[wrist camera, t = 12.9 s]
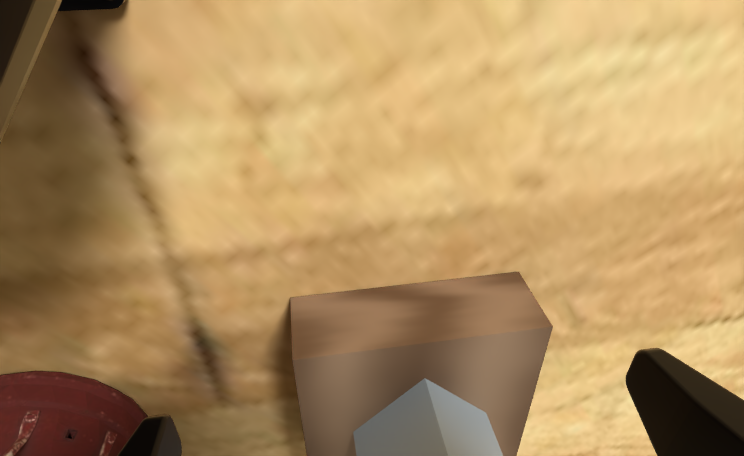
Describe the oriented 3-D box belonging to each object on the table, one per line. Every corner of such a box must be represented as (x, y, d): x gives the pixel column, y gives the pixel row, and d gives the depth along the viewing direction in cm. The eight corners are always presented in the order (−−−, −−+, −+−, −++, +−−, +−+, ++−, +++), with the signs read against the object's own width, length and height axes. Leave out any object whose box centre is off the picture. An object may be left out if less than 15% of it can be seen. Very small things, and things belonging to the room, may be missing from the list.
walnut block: (309, 436, 32) (313, 499, 28) (290, 297, 25) (292, 360, 22) (490, 409, 33) (513, 467, 30) (518, 271, 26) (552, 326, 23)
